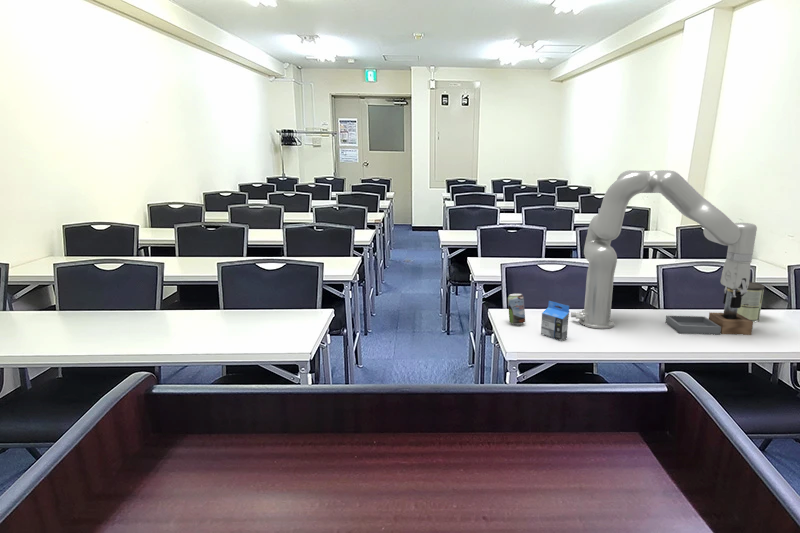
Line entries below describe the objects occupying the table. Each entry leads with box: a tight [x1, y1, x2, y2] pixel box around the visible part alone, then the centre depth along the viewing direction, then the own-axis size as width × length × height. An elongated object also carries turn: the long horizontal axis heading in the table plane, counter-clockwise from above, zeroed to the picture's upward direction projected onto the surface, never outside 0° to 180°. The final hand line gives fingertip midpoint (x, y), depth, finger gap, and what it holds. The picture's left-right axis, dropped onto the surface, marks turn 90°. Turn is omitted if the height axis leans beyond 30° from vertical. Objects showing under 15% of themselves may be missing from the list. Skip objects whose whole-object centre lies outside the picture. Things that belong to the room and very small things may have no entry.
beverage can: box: [507, 293, 526, 325], centre depth 185 cm, size 6×7×12 cm
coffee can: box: [737, 281, 766, 323], centre depth 189 cm, size 10×10×14 cm
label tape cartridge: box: [540, 300, 570, 342], centre depth 171 cm, size 9×4×12 cm, turn 37°
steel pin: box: [723, 288, 740, 319], centre depth 175 cm, size 4×4×12 cm
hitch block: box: [708, 311, 754, 336], centre depth 177 cm, size 10×10×5 cm
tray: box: [665, 314, 721, 336], centre depth 179 cm, size 14×12×3 cm
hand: (731, 305), depth 175 cm, fingers closed on steel pin, 4 cm apart
